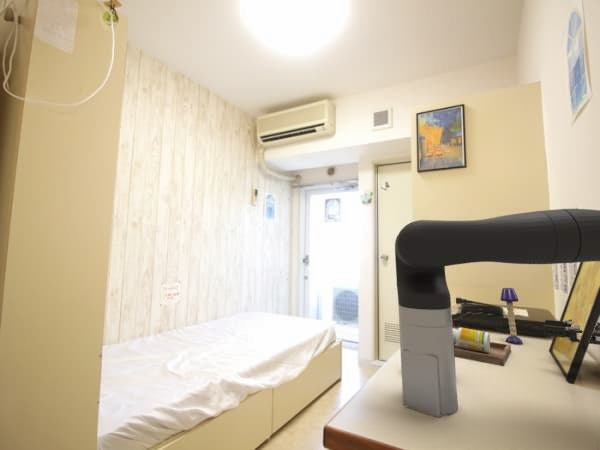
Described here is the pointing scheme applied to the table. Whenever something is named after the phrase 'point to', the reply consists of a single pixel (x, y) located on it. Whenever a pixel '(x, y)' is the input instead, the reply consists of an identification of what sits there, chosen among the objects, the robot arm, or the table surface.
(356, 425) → the table surface
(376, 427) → the table surface
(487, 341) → the supplement bottle
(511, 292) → the toy lamp
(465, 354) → the tray
